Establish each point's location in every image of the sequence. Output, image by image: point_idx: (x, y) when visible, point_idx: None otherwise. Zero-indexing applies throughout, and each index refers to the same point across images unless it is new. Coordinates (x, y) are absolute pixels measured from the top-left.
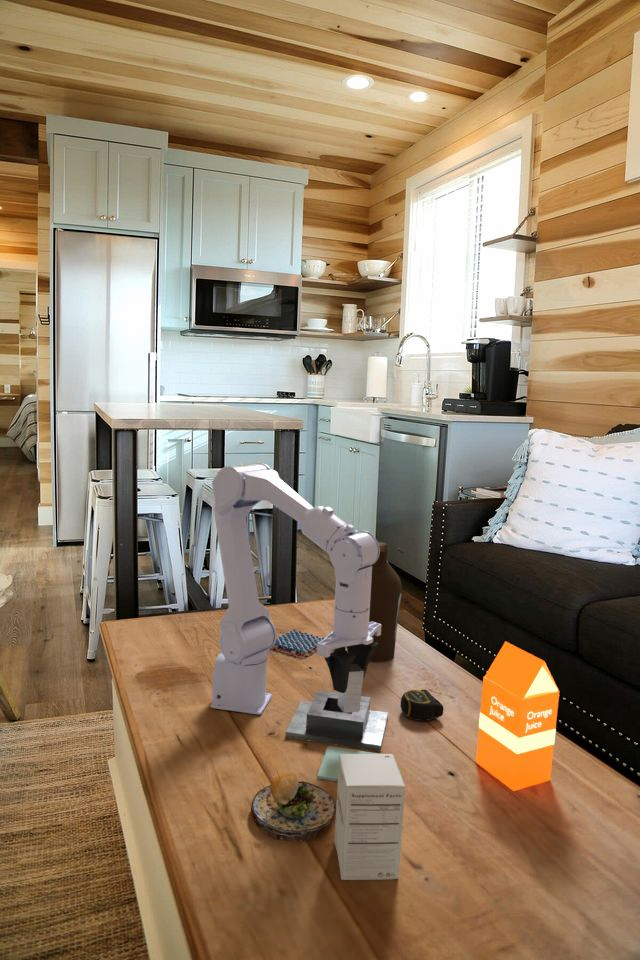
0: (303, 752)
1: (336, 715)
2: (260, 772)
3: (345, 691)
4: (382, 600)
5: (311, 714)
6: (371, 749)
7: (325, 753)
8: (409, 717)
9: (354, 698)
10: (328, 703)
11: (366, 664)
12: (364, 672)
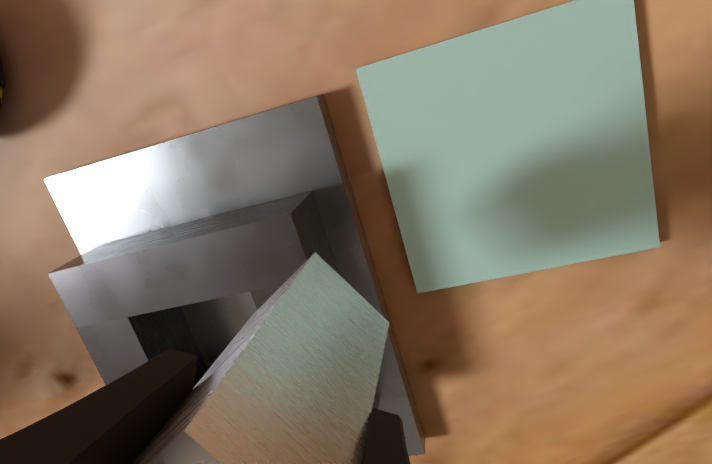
0: (490, 352)
1: None
2: (695, 426)
3: (375, 411)
4: None
5: None
6: (333, 133)
7: (474, 281)
8: (4, 83)
9: (328, 322)
10: None
11: (32, 458)
12: (106, 402)
